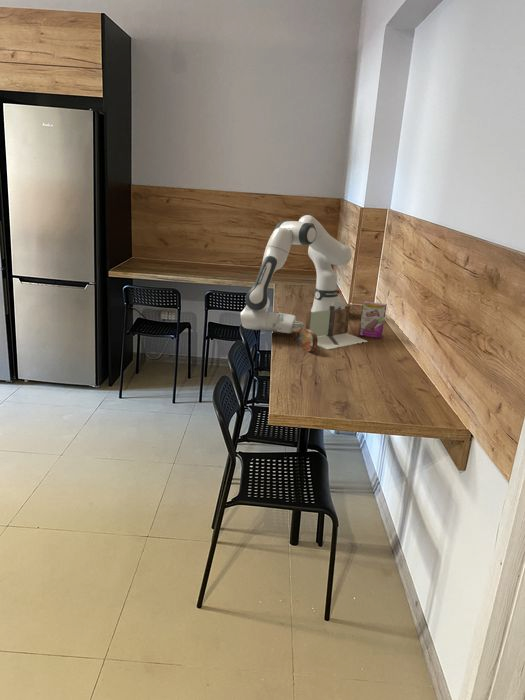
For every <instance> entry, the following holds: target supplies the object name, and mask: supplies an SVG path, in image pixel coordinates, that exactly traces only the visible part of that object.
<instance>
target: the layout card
mask: <svg viewBox="0 0 525 700" xmlns="http://www.w3.org/2000/svg"><path fill="white" fill-rule="evenodd" d="M317 339H318V342H317V347H319V348H323V349H325V350H332V349H337V348H338V347H339V348H343V347H344V348H345V347H348V345H349V346H353V344H354V345H358V344H357V343H359V344H362V342H364V343H368V340H366V339H364V338H361V337H358V336H356V335H353V334H350V333H348V332H347V333H342V334H336V335H332V336H328V335H324V336H319V337H317ZM339 348H338V349H339Z"/></svg>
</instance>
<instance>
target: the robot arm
mask: <svg viewBox="0 0 525 700" xmlns="http://www.w3.org/2000/svg"><path fill="white" fill-rule="evenodd" d="M267 241H268V242H267V244H266V247H265V249H264V253H263V257H262V263H261V266H260V269H259V271H258V275H257V276H256V280H255V281H254V284H253V286H251V288H250V289H249V290H248V291H247V292H246V294H245V297H244V300H245V304H246V305H245V306H244V308H243V310H242V311H240V313H239V321H240V325H241V326H242V327H243V329H247V330H253V331H264V332H265V331H266V332H272V333H273V332H274V333H277V332H278V333H285V334H292V333H293V329H299V328H300V329H301V328H304V327H305V326H304V325H305V322H302V321H298V320H296V315H294V314H291V313H281V312H280V311H274V312H268V310H269V307H270V298H269V297H268V289H269V286H270V283H271V281H272V279H273V275H274V273H275V272H276V271H277V270H280V269H282V268H283V266H284V265H285V263H286V261H287V259H288V256H289V253H290V250H291V246H292V245H293V246H294V245H298V246H308V248H307V249H308V250H307V255H308V257H309V259H311V261H312V262H313V264H314V268H315V271H316V283H315V288H314V293H313V294H314V298H313V303H312V307H311V309H310V311H311V312H315V311H323V310H329V309H330V306H335V310H338V309H345V306H347V305H346V303H345V301H343V299H342V298H341V297H339V295H341V294H342V289H341V290H340V289H337V286H338V285H337V283H338V275H337V273H336V271H334V270H333V268H332V265H335V266H345V265H348V264H349V263H350V262H351V260H352V257H353V255H352V253H353V252H352V250H351V248H350V247H349V246H346V245H345V244H343V243H342V242H341V241H339V240H337V239H336V238H335V237H333V236H331V234H330V233H328V232H327V230H326V229H325V227H323V225H322V224H321V223H320V221H318V219H316V218H315V217H314V216H312V215H310V214H306V215H302V216H301V217H300V218H299V219H298V221H297V220H289V221H288V220H281V221H279V222H278V223H277V224H276V226H275V227H274V230H273V232H272V233H271V235H270V237H269V239H268V240H267Z"/></svg>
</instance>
